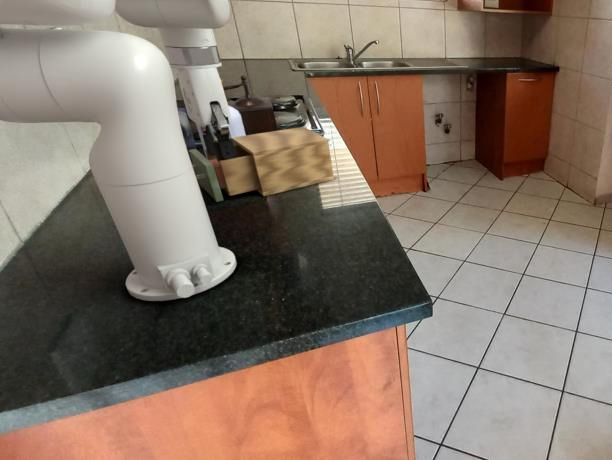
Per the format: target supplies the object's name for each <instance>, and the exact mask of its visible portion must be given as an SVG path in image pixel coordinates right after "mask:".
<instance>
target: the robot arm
mask: <svg viewBox="0 0 612 460" xmlns="http://www.w3.org/2000/svg"><path fill="white" fill-rule="evenodd" d="M114 12H115V13H116V14H117V15H118V16H119V17H120V18H121V19H123V20H124V21H126V22H128V23H129V24H131V25H134V26H138V27H142V28H151V29H152V28H154V29H158V32H159V36H160V39H161V42H162V45H163V48H164V51H165V54H166V56H165V54H164V53H163V52H162V50H161V49H160V48H158V47H157V45H155V44H154V43H152V42H150V41H149V40H147V39H145V38H142V37H140V36H137V35H134V34H131V33H127V32H120V31H115V30H103V29H69V28H66V29H64V28H59V29H58V28H51V29H48V28H45V29H44V28H12V27H11V28H10V27H9V28H8V27H5V26H4V25H22V26H56V27H57V26H59V27H61V26H63V27H64V26H65V27H66V26H67V27H69V26H85V25H93V24H97V23H102V22H104V21H106V20H108V19H109V18H111V17H112V15H113V14H114ZM230 15H231V9H230V3H229V0H0V121H2V122H8V123H16V124H18V123H19V124H44V123H45V124H46V123H96V124H99V125H100V131H99V133H98V135H97V137H96V139H95V141H94V142H93V144H92V146H91V148H90V150H89V153H88V165H89V168H90V172H91V174H92V176H93V179H94V181H95V182H96V184H97V187H98V189H99V192H100V194H101V196H102V198H103V200H104V203H105V205H106V207H107V209H108V211H109V214H110V216H111V218H112V220H113V223H114V225H115V226H116V230H117V231H118V235H119V236H120V239H121V240H122V243H123V245H124V247H125V250H126V252H127V254H128V256H129V259H130V261H131V263H132V265H133V267H134V269H133V270H132V271H131V272H130V273H129V274H128V276H127V277H126V279H125V287H126V289H127V291H128V293H129V294H130V296H132V297H134V298H135V299H138V300H141V301H147V302H165V301H172V300H179V299H186V298H189V297H191V296H194V295H198V294H200V293H202V292H205V291H208V290H209V289H212V288H214V287H215V286H217V285H219V284H220V283H222V282H224V281H225V280H227V279H228V278H229V277H230V276H231V275H232V274H233V273H234V271H235V269H237V268H236V267H237V259H236V255H235V254H234V252H233V251H231V250H230V249H228V248H225V247H221V246H219V244H218V241H217V237H216V235H215V232H214V228H213V226H212V225H213V224H212V223H211V220H210V219H211V218H210V216H209V213H208V210H207V208H206V203H205V201H204V198H203V194H202V191H201V188H200V184H199V181H198V179H196V176H195V175H196V172H195V169H193V167H192V165H193V163H192V160H191V156H190V153H189V152H188V151H187V148H186V144H185V141H184V138H183V134H182V130H181V126H180V121H179V116H178V110H177V107H178V104H177V96H176V86H175V80H174V74H173V71H172V69H176V74H177V75H176V76H177V80H178V83H179V87H180V91H181V95H182V98H183V102H184V106H185V107H184V108H185V111H186V114H187V117H188V119H190V120H191V121H192V122H194V123H195V125H196V124H198V125H199V126H200V127H201V131H202V133H203V134H202V135H203V139H204V142H205V145H206V149H207V152H208V154H209V155H214V154H216V158H217V161H218V162H219V161H222V160H227V159H233V158H237V155H236V151H235V147H234V143H233V140H232V137H231V134H230V131H229V127H228V124H230V122H231V116H230V111H229V107H228V100H227V97H226V94H225V90H223V87H224V86H223V82H221V80H222V79H221V77H220V73H219V71H218V68H220V67H222V66H223V64H222V60H221V56H220V52H219V48H218V44H217V41H216V38H215V37H216V36H215V33H214V30H217V29H221V28H223V27H225V26H226V25H227V24H228V22H229V20H230V17H231V16H230Z"/></svg>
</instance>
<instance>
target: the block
mask: <svg viewBox="0 0 612 460" xmlns="http://www.w3.org/2000/svg"><path fill="white" fill-rule="evenodd" d="M209 161H210V162H211V163H212V164H213V166H214V170H215V173H216V176H217V180H218V183H219V186H220V190H223V188H227V187H226V184H225V180H224V177H223V174H222V170H221V167H220V163H219V162H218V161H217V159H214V160H209Z"/></svg>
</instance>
